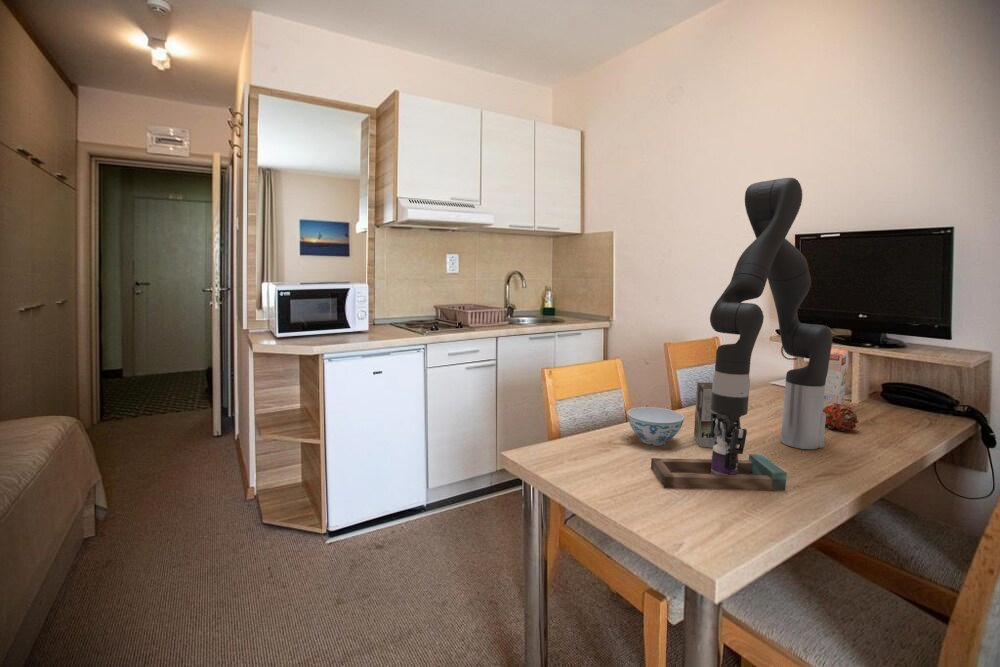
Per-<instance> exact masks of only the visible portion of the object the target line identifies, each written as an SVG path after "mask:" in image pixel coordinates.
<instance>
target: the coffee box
mask: <svg viewBox="0 0 1000 667" xmlns="http://www.w3.org/2000/svg"><path fill="white" fill-rule="evenodd" d="M712 386H713V382H699V381H698V382H696V391H695V392H696V394H695V395H696V396H695V409H694V410H695V414H694V430H693V431H694V433H693V437H694V439H695V441H696V443H697V444H698V446H699V447H700V448H701V447H702V448H712V449H713V447H714V445H715V444H716V443H714V438H711V413H715V412H713V411H712V410H711V399H712Z"/></svg>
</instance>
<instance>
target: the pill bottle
mask: <svg viewBox="0 0 1000 667" xmlns="http://www.w3.org/2000/svg"><path fill="white" fill-rule="evenodd" d="M727 438H728V437H727ZM728 439H731V438H728ZM717 443H718V444H716V445H714V447H713V448H712V453H711V459H712V465H711V473H710V474H721V475H738V473H737V465H738V460H739V454H737V461H736V469H735V470H727V469H725V455H726V447H725V443H724V442H723V439H722V435H719V436H717ZM730 444H731V443H730Z"/></svg>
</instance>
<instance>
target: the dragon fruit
mask: <svg viewBox="0 0 1000 667" xmlns="http://www.w3.org/2000/svg"><path fill="white" fill-rule="evenodd" d="M833 404H834V405H831V406H826V407H825V408H823V412H824V413H826V422H825V425H827V428H828V429H830V430H834V429H837V430H838V431H842V432H845V431H846V430H847V429H851V430H853V429H855V428H856V427H857V426H856V425H857V424H858V423H860V421H859V420H858V414H856V412H855V411H854V410H852V408H851V407H850V406H848V405H847V404H845V403H843V404H842V405H841V404H837V403H833Z"/></svg>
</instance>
